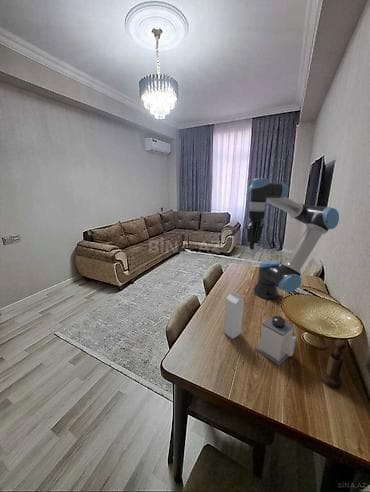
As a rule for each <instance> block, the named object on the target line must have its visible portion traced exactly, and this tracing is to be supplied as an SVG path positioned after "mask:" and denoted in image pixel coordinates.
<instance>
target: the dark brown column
mask: <svg viewBox="0 0 370 492" xmlns="http://www.w3.org/2000/svg"><path fill="white" fill-rule="evenodd" d="M334 344H335V345H334V346H335V347H336V348H335V349H334V350H333V351H334V352H331V353H330V354H329V358H328V362H327V367H326V368H324V369H322V370H321V373H320V380H321V381H322V382H323V384H325V386H327V387H329V388H331V389H334V390H339V389H341V388H342V385H343V378H342V377H341V371H342V367H343V363H344V357H343V356H342V354H343V352H342V350H344V349H345V348H346V342H345V341H344V340H342V339H340V338H339V339H336V340H335V343H334Z"/></svg>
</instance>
